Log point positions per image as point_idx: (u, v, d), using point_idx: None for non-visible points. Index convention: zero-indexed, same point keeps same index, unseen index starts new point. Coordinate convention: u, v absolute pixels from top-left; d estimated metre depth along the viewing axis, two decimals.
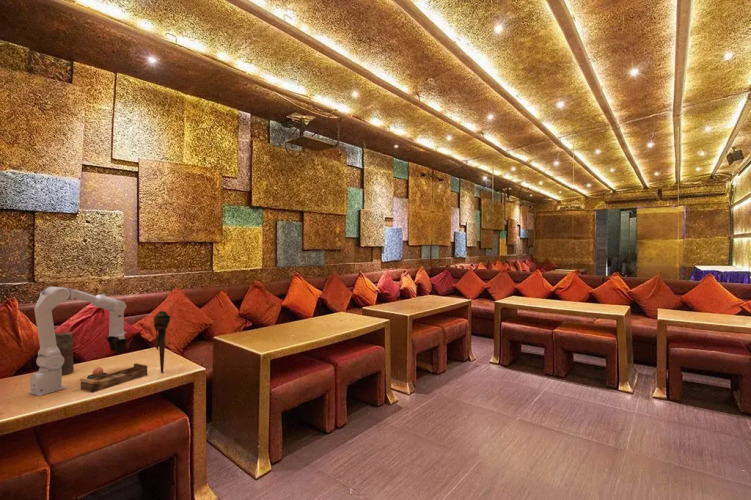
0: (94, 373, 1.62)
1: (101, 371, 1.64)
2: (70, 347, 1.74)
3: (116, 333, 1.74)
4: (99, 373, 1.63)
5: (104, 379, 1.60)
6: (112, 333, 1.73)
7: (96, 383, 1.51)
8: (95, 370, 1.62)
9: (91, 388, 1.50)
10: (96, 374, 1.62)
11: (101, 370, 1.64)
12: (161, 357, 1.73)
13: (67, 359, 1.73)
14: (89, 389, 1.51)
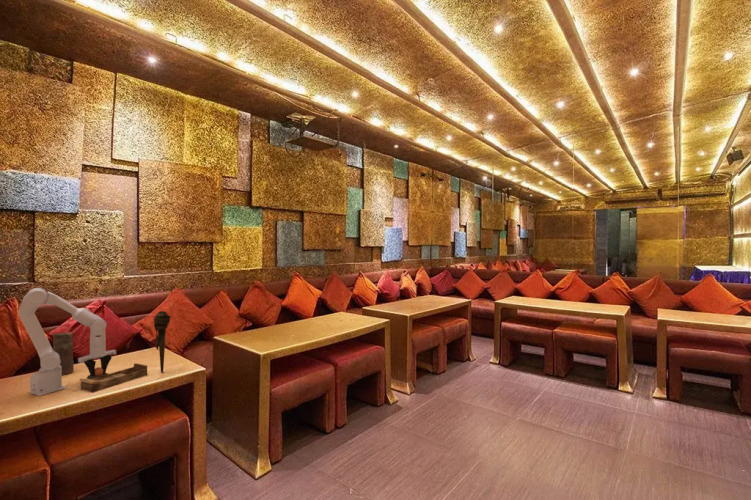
0: None
1: (101, 371, 1.64)
2: (70, 347, 1.74)
3: None
4: (99, 373, 1.63)
5: (104, 379, 1.60)
6: None
7: (96, 383, 1.51)
8: (95, 370, 1.62)
9: (91, 388, 1.50)
10: (96, 374, 1.62)
11: (101, 370, 1.64)
12: (161, 357, 1.73)
13: (68, 359, 1.73)
14: (89, 389, 1.51)
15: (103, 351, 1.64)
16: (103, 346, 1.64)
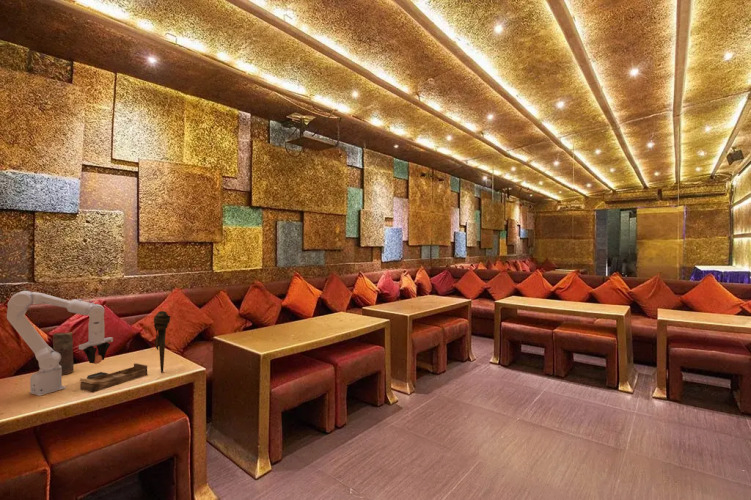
0: None
1: (101, 358, 1.62)
2: (70, 347, 1.74)
3: (89, 341, 1.60)
4: (99, 360, 1.62)
5: (104, 379, 1.60)
6: None
7: (96, 383, 1.51)
8: (95, 357, 1.61)
9: (91, 388, 1.50)
10: (96, 361, 1.61)
11: (100, 357, 1.62)
12: (161, 357, 1.73)
13: (67, 359, 1.73)
14: (89, 389, 1.51)
15: (103, 338, 1.63)
16: (103, 333, 1.63)
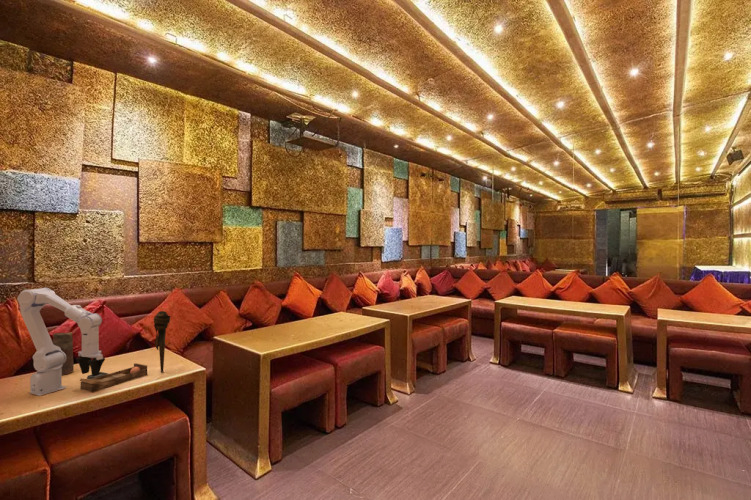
0: (136, 370, 1.69)
1: None
2: (70, 347, 1.74)
3: (91, 353, 1.52)
4: (132, 369, 1.69)
5: (104, 379, 1.60)
6: (86, 353, 1.51)
7: (96, 383, 1.51)
8: None
9: (91, 388, 1.50)
10: (135, 369, 1.69)
11: (130, 371, 1.69)
12: (161, 357, 1.73)
13: (67, 359, 1.73)
14: (89, 389, 1.51)
15: None
16: None
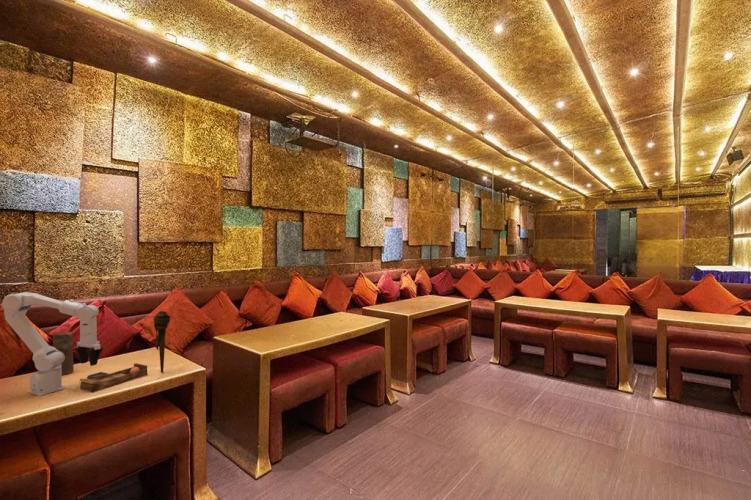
0: (136, 371, 1.68)
1: (130, 371, 1.68)
2: (70, 347, 1.74)
3: (89, 343, 1.55)
4: (132, 370, 1.68)
5: (104, 379, 1.60)
6: (84, 343, 1.54)
7: (96, 383, 1.51)
8: None
9: (91, 388, 1.50)
10: (134, 370, 1.68)
11: (130, 372, 1.68)
12: (161, 357, 1.73)
13: (67, 359, 1.73)
14: (89, 389, 1.51)
15: None
16: None
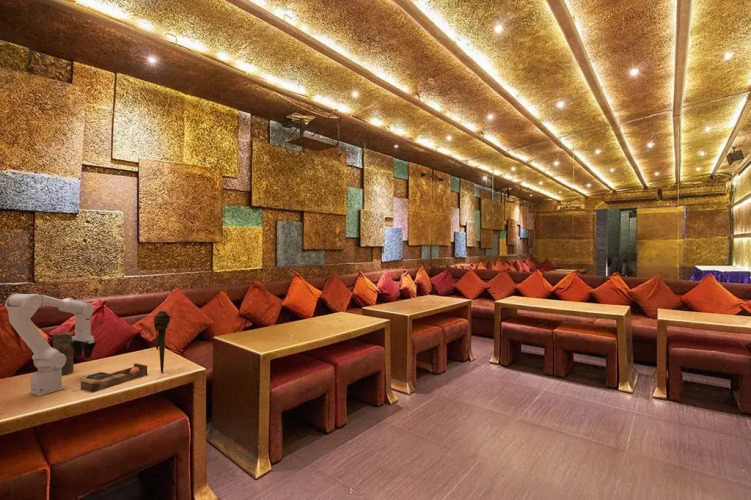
0: (135, 371, 1.68)
1: (130, 371, 1.68)
2: (70, 347, 1.74)
3: (84, 337, 1.65)
4: (131, 370, 1.68)
5: (104, 379, 1.60)
6: (79, 337, 1.65)
7: (96, 383, 1.51)
8: None
9: (91, 388, 1.50)
10: (134, 370, 1.68)
11: (130, 372, 1.68)
12: (161, 357, 1.73)
13: (67, 359, 1.73)
14: (89, 389, 1.51)
15: None
16: None
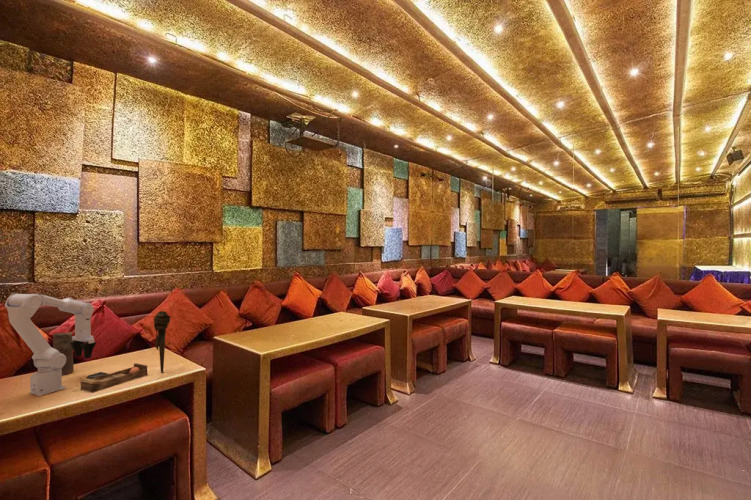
0: None
1: (130, 372, 1.68)
2: (70, 347, 1.74)
3: (84, 337, 1.65)
4: (131, 370, 1.68)
5: (104, 379, 1.60)
6: (79, 337, 1.65)
7: (96, 383, 1.51)
8: None
9: (91, 388, 1.50)
10: (134, 370, 1.68)
11: None
12: (161, 357, 1.73)
13: (67, 359, 1.73)
14: (89, 389, 1.51)
15: None
16: None
